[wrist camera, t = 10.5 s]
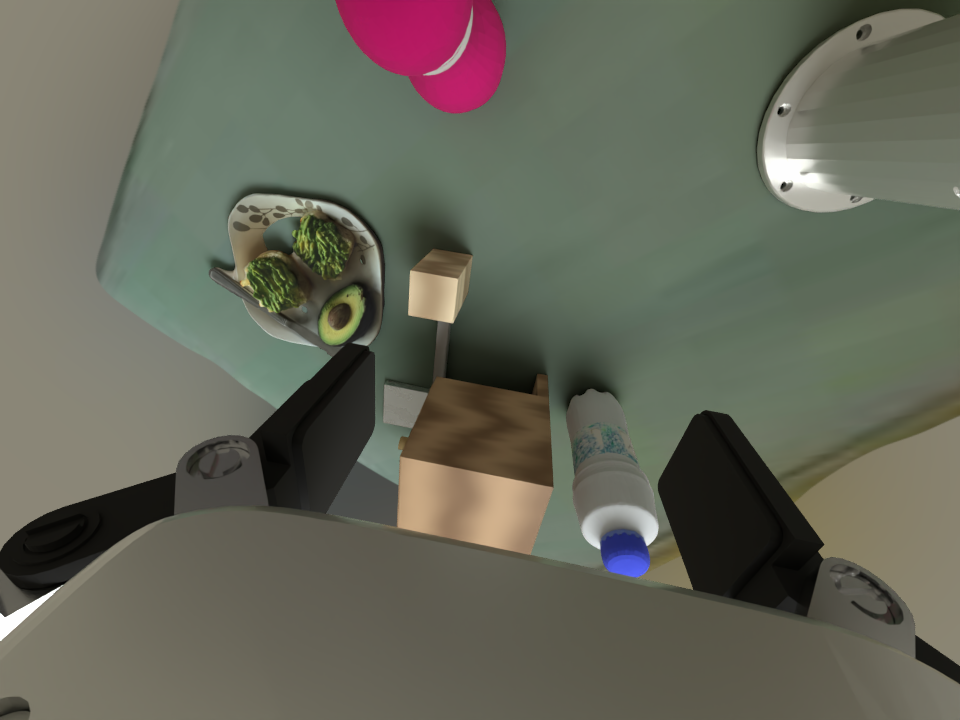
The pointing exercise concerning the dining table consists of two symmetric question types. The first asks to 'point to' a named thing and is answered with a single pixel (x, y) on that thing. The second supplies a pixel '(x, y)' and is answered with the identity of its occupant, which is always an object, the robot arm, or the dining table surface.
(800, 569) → the robot arm
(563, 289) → the dining table surface
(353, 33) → the pepper mill
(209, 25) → the dining table surface
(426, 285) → the beige mallet
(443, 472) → the wooden box
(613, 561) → the bottle
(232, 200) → the dining table surface
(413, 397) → the gray rectangular block
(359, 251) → the salad plate
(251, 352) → the dining table surface
